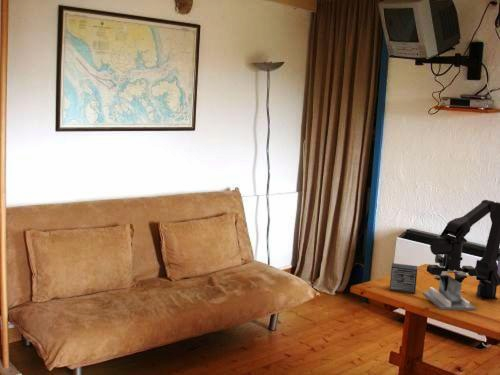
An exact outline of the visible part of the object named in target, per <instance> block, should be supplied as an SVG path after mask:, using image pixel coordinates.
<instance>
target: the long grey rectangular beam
mask: <svg viewBox="0 0 500 375" xmlns="http://www.w3.org/2000/svg"><path fill="white" fill-rule="evenodd" d="M447 276H449V278H448V284H447V290H446V291H444V288H443V284H442V280H441V278H439V285H438V292H440V293H442V294H443V295H444V296H445V297H447V298H448V299H449V300H450V301H460V296H462V295H461V292H462V282H461V283H460V282H458V281H457V280H455V277H453V276H451V275H450V274H447Z"/></svg>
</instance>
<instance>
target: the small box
mask: <svg viewBox="0 0 500 375" xmlns="http://www.w3.org/2000/svg"><path fill="white" fill-rule="evenodd" d="M417 277H418V265H411V264H403V263H402V264H401V263H395V262H393V263H391V271H390V282H389V288H388V289H389V291H391V290H393V292H394V291H395V292H401V293H408V294H416V287H417Z"/></svg>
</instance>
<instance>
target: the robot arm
mask: <svg viewBox="0 0 500 375" xmlns="http://www.w3.org/2000/svg"><path fill="white" fill-rule="evenodd" d="M487 215H489V217H490V221H491V224H490V225H491V226H490V229H489V234H488V237H487V241H486V245H485V250H484V253H483V256H482V258H481V259H477V260H476V263H475V267H474V266H472V265H462V267H461V261H463V257H462V254H463V244H464V243H467V242H468V240H467V239H466V238H465V237H466V236H467V235H468V233H470V232H471V228H472V226H474V225H475V224H476V223H478V222H479V221H480V220H481V219H483V218H484V217H486V216H487ZM429 248H430V252H431V254H433V255H434V256H435V257H434V262H435V264H428V265H427V266H426V272H427V273H429V274H430V275H431V276H435V275H439V276H440V278H441V280H442V284H443V288H444V291H446V290H447V284H448V278H449V276H447V275H448V273H454V279H455V280H457V281H458V282H460V283H461V284H462V282H463V281H464V280H465V279H467V278H468V276H469V277H475V278H476V281H478V282H479V283H478V285H477V290H476V293H475V295H477V296H478V297H479V298H481V299H483V300H498V297H497V296H496V295H497V287H498V286H500V275H499V266H498V265H499V264H498V263H497V258H498V254H499V250H500V202H499V201H497V202H496V201H493V200H489V199H483V200H482V201H481V202H480V203H479V204H478V205H477V206H475V207H474V208H472V209H471V210H470V211H468V212H467V213H466V214H464V215H463V216H461V217H456V218H454V219H452V220H450V221H448V222H447V223H446V226H445V228H444V229H443V230H442V232H441V234H440V235H439V236H436V237H434V240H432V241H431V243H430V244H429ZM442 254H443V256H442ZM444 254H445V255H444ZM439 266H444V267H445V268H443V267H439ZM440 278H439V279H440Z"/></svg>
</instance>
